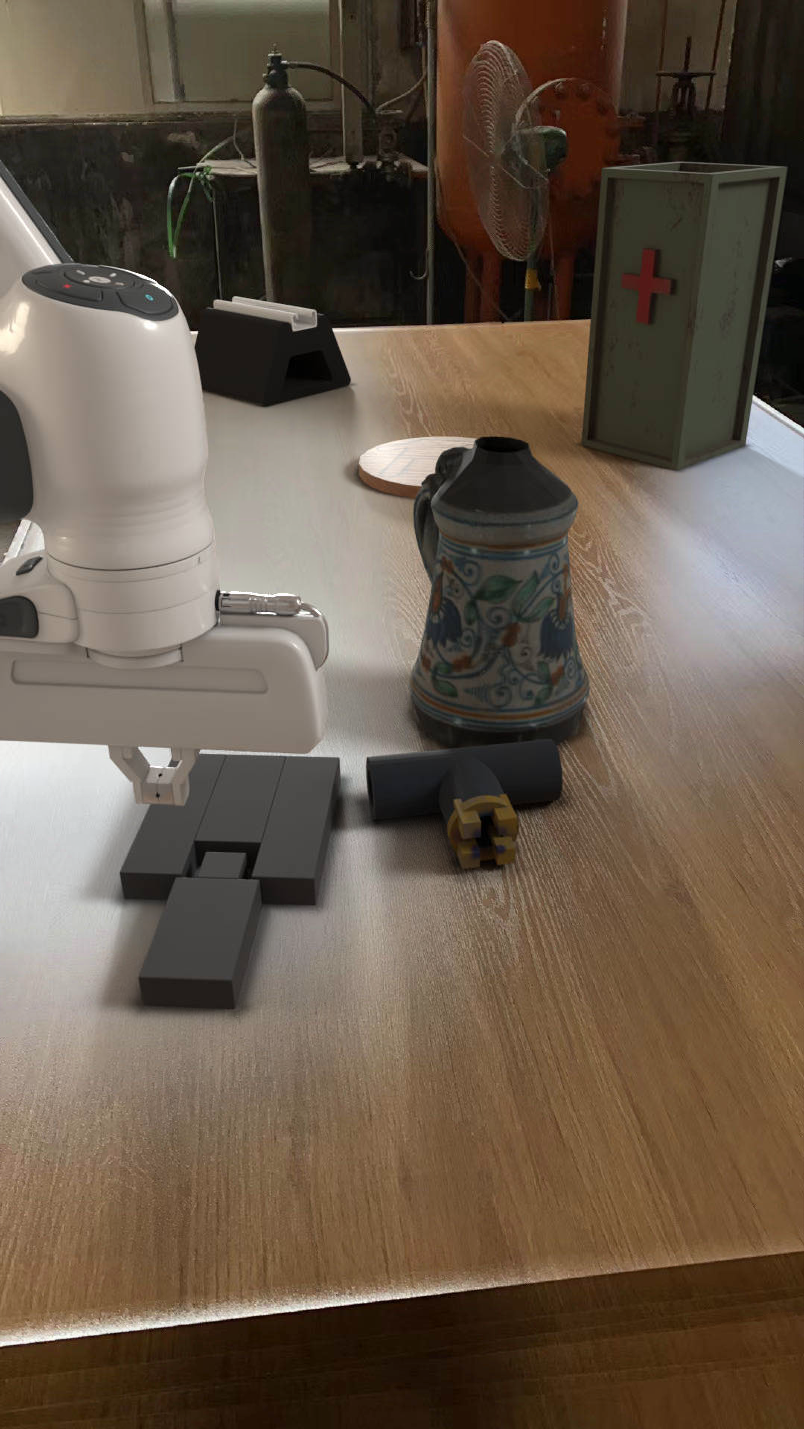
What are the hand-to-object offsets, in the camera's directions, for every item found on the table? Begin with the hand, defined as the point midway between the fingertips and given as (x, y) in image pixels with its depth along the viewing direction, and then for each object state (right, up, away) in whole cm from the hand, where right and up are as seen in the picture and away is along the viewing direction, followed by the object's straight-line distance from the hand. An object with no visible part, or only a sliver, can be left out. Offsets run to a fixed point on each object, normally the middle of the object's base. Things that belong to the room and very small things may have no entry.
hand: (163, 799), depth 66 cm
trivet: (+21, +41, +98) cm, 108 cm away
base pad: (+2, -4, +19) cm, 20 cm away
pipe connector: (+20, -4, +20) cm, 28 cm away
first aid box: (+56, +48, +109) cm, 132 cm away
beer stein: (+22, +6, +36) cm, 43 cm away
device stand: (-11, +69, +145) cm, 161 cm away
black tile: (+1, -10, +9) cm, 14 cm away
